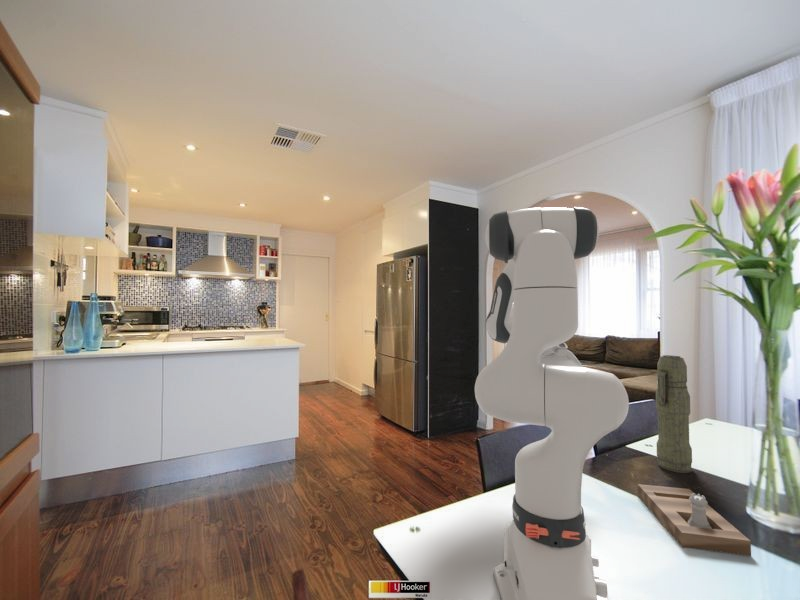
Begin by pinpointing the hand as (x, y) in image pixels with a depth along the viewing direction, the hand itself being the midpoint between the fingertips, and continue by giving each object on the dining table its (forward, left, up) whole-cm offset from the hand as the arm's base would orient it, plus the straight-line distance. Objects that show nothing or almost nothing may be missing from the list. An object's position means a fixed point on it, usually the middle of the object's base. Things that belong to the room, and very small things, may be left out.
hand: (568, 388), depth 102 cm
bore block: (-12, -23, -27) cm, 37 cm away
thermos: (+22, -36, -28) cm, 50 cm away
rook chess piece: (-16, -23, -28) cm, 39 cm away
